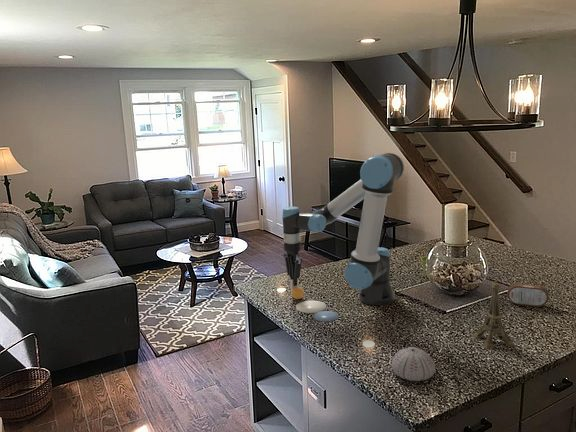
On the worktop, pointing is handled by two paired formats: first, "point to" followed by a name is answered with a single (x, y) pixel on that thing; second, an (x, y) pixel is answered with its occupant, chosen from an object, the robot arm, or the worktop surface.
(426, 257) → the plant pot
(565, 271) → the worktop surface
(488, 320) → the eiffel tower
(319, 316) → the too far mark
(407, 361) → the sea urchin shell
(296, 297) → the ball
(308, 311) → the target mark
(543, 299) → the tin
